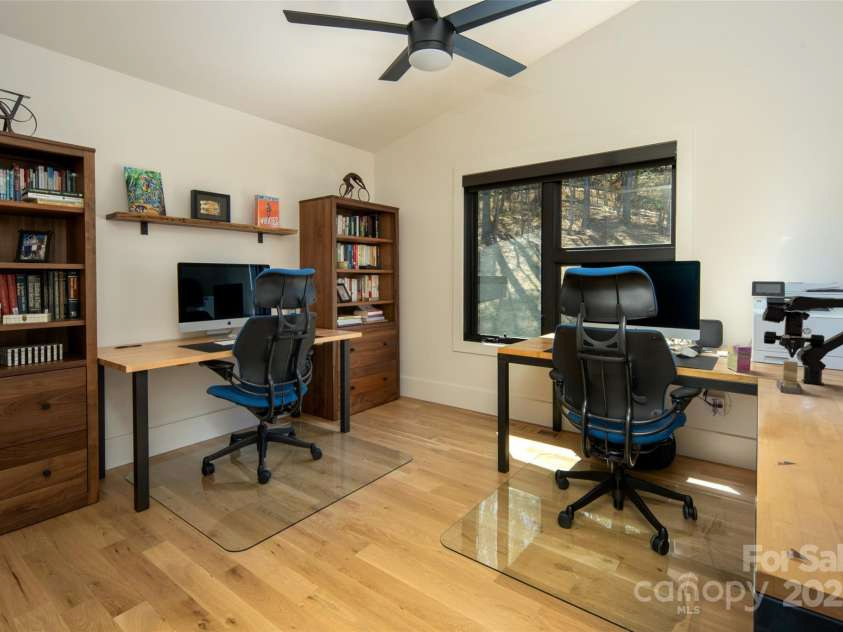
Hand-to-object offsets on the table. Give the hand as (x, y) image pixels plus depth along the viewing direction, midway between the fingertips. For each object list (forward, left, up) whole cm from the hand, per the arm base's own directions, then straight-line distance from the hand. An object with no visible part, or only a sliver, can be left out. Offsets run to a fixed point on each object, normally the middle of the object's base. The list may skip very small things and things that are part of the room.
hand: (791, 357), depth 181 cm
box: (-30, -15, -12) cm, 36 cm away
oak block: (+8, -1, -10) cm, 13 cm away
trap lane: (+7, -1, -12) cm, 14 cm away
